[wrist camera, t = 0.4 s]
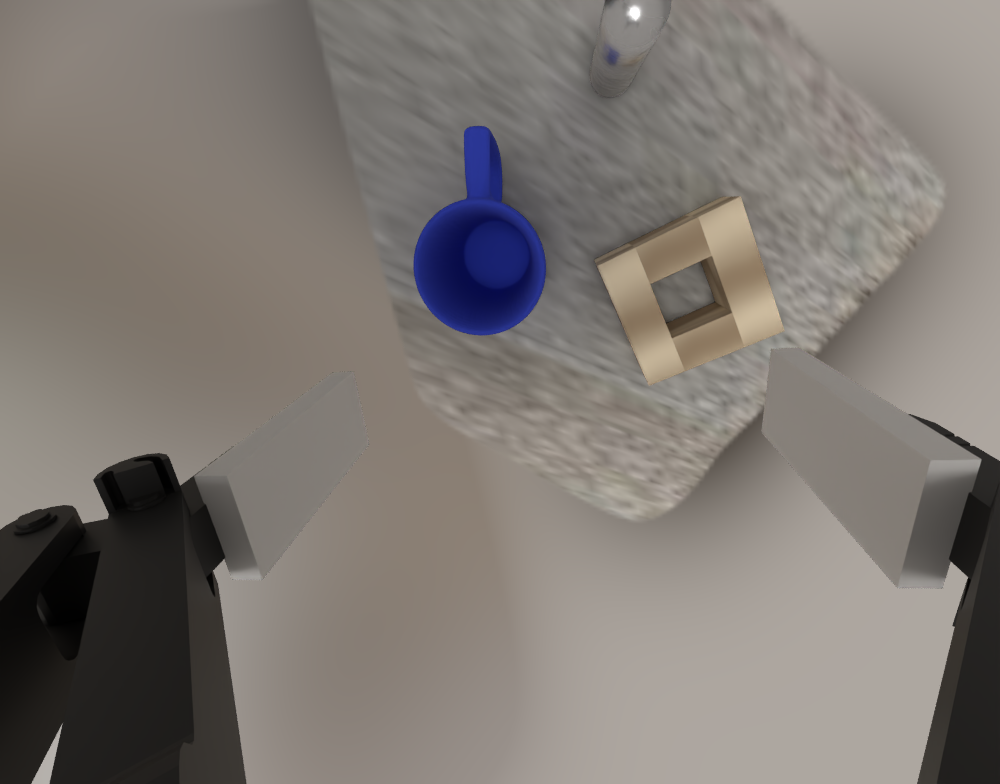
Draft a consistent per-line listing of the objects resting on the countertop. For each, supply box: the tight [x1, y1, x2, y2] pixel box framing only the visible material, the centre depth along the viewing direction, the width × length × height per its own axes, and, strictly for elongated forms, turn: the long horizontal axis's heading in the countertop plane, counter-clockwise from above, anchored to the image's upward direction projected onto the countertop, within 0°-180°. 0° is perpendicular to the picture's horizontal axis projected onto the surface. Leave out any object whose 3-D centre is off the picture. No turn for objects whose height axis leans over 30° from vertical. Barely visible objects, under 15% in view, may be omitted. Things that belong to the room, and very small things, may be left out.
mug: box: [414, 126, 546, 335], centre depth 33 cm, size 8×12×10 cm
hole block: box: [594, 196, 784, 385], centre depth 36 cm, size 10×10×4 cm
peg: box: [590, 0, 671, 98], centre depth 28 cm, size 3×3×12 cm
